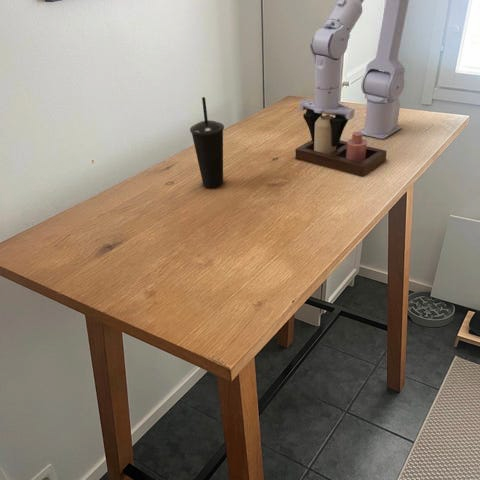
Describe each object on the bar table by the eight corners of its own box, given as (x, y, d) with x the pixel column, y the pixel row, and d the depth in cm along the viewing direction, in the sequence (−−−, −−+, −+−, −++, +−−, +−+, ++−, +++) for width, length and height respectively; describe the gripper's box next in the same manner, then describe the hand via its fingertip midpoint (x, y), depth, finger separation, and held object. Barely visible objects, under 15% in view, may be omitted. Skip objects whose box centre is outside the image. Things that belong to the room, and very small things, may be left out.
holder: (319, 145, 136) (319, 135, 134) (385, 160, 125) (387, 150, 123) (295, 158, 130) (295, 148, 128) (362, 176, 119) (363, 166, 117)
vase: (352, 158, 127) (354, 128, 123) (369, 162, 125) (371, 132, 120) (341, 165, 125) (343, 134, 120) (358, 169, 122) (361, 138, 117)
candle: (310, 158, 129) (311, 119, 123) (318, 150, 133) (319, 111, 126) (331, 161, 127) (333, 121, 120) (338, 153, 130) (340, 113, 124)
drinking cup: (225, 191, 118) (216, 103, 105) (193, 191, 120) (181, 103, 107) (232, 177, 124) (224, 92, 111) (202, 177, 125) (191, 92, 113)
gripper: (292, 86, 121) (292, 142, 129) (344, 95, 113) (340, 154, 121) (309, 78, 124) (308, 133, 133) (361, 86, 117) (356, 144, 125)
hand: (325, 142), depth 128 cm, fingers closed on candle, 5 cm apart
